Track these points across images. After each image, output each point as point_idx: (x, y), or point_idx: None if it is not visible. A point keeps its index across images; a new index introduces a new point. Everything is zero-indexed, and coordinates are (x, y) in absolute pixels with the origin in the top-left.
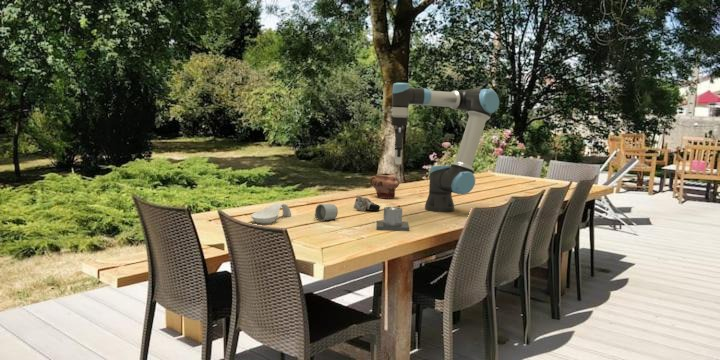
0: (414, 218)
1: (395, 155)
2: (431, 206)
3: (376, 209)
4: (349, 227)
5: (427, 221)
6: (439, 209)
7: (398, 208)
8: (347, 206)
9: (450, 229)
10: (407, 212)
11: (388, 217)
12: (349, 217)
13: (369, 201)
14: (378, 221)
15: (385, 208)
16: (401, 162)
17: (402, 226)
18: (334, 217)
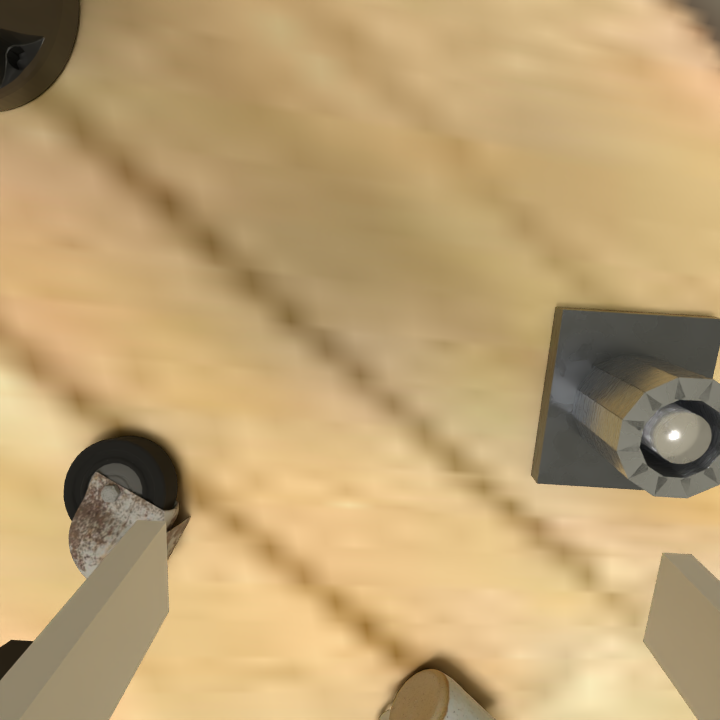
0: (345, 238)
1: (116, 687)
2: (35, 63)
3: (165, 458)
4: (614, 603)
5: (432, 164)
6: (69, 5)
7: (672, 401)
8: (41, 600)
9: (674, 44)
10: (149, 261)
11: None
12: (364, 597)
13: (99, 517)
14: (555, 474)
15: (687, 489)
16: (712, 575)
17: (692, 355)
18: (450, 677)
